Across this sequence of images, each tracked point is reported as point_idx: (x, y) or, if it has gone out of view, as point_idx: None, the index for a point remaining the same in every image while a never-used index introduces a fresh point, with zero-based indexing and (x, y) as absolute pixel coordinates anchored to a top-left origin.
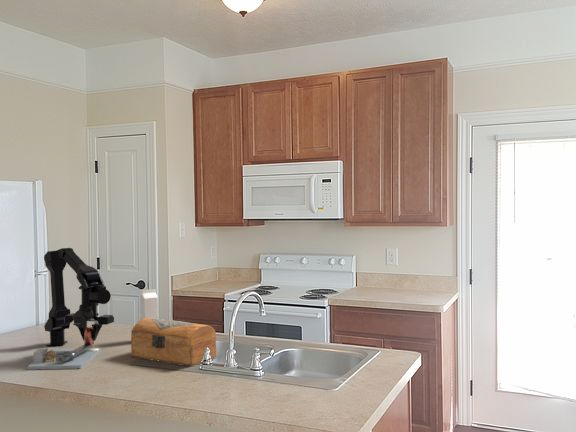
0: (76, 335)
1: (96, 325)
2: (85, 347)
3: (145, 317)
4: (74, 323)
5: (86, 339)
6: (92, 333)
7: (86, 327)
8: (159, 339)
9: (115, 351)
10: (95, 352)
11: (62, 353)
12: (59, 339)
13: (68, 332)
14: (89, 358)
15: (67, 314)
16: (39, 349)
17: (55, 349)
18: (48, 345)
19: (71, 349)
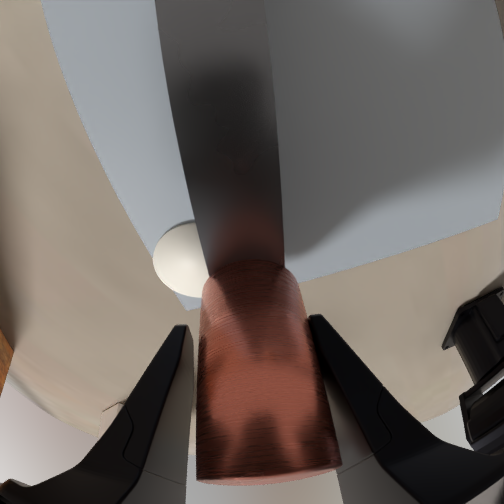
0: (419, 389)
1: (10, 495)
2: (184, 166)
3: None
4: (501, 470)
5: (253, 311)
6: (196, 407)
7: (316, 473)
8: None
9: (95, 304)
10: (122, 200)
11: (426, 109)
12: (479, 329)
13: (441, 390)
14: (52, 34)
15: (492, 452)
16: None
17: (487, 215)
18: (500, 289)
19: (401, 234)
